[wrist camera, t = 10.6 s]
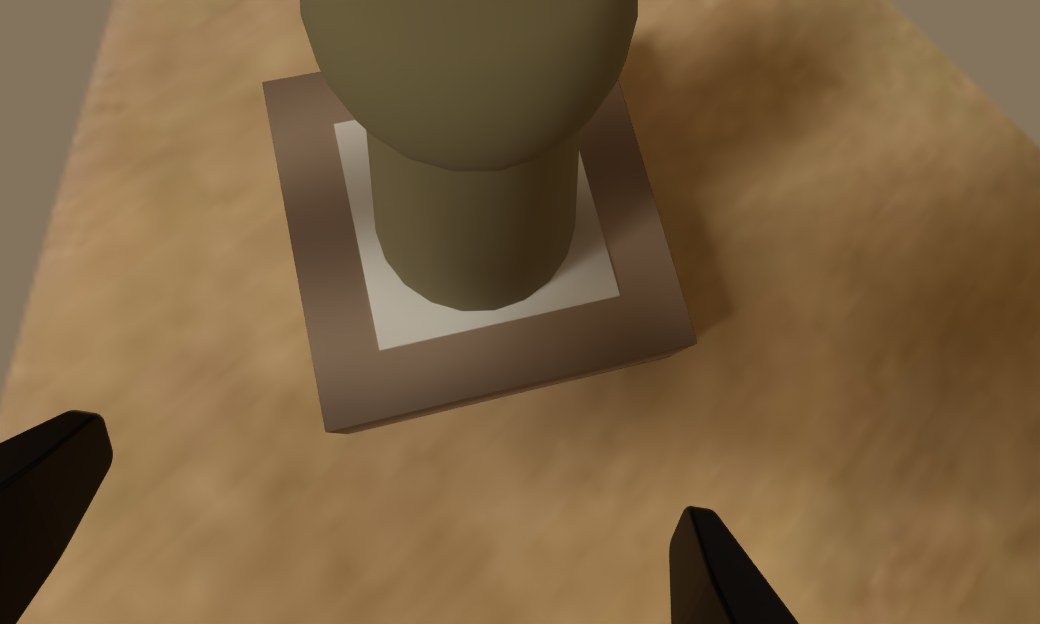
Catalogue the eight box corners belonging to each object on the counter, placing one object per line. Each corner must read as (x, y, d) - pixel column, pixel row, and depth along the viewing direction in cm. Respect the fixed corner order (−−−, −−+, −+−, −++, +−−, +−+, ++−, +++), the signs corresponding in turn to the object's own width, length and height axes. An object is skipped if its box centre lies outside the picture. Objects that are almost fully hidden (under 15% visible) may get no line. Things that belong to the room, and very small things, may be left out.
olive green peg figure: (594, 292, 19) (747, 86, 8) (391, 329, 18) (262, 159, 7) (552, 108, 20) (637, -286, 9) (360, 138, 19) (210, -248, 9)
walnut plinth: (668, 356, 22) (698, 342, 19) (348, 434, 21) (324, 431, 17) (586, 73, 24) (601, 19, 21) (290, 129, 23) (261, 80, 20)
